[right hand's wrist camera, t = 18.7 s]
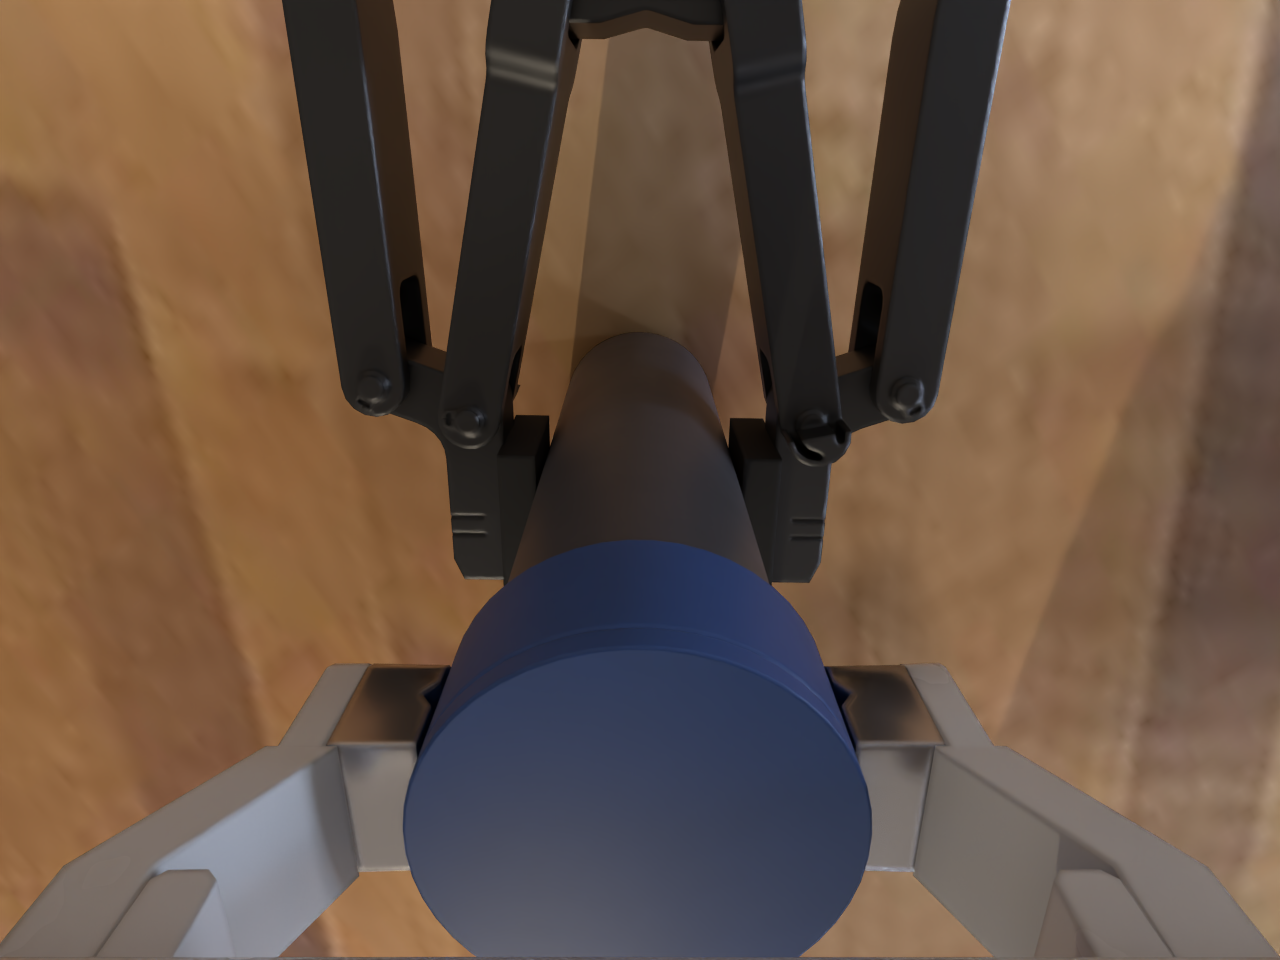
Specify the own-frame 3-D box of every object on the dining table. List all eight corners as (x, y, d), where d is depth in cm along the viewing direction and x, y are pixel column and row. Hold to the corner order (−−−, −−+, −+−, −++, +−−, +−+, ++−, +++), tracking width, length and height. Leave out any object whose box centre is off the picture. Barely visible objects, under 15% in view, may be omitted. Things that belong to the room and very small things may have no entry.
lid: (874, 578, 10) (940, 696, 8) (768, 871, 12) (797, 1034, 9) (478, 501, 9) (430, 603, 7) (430, 816, 11) (379, 973, 9)
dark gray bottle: (698, 478, 24) (785, 951, 10) (560, 461, 24) (442, 919, 10) (722, 341, 23) (865, 663, 8) (575, 322, 23) (457, 618, 8)
